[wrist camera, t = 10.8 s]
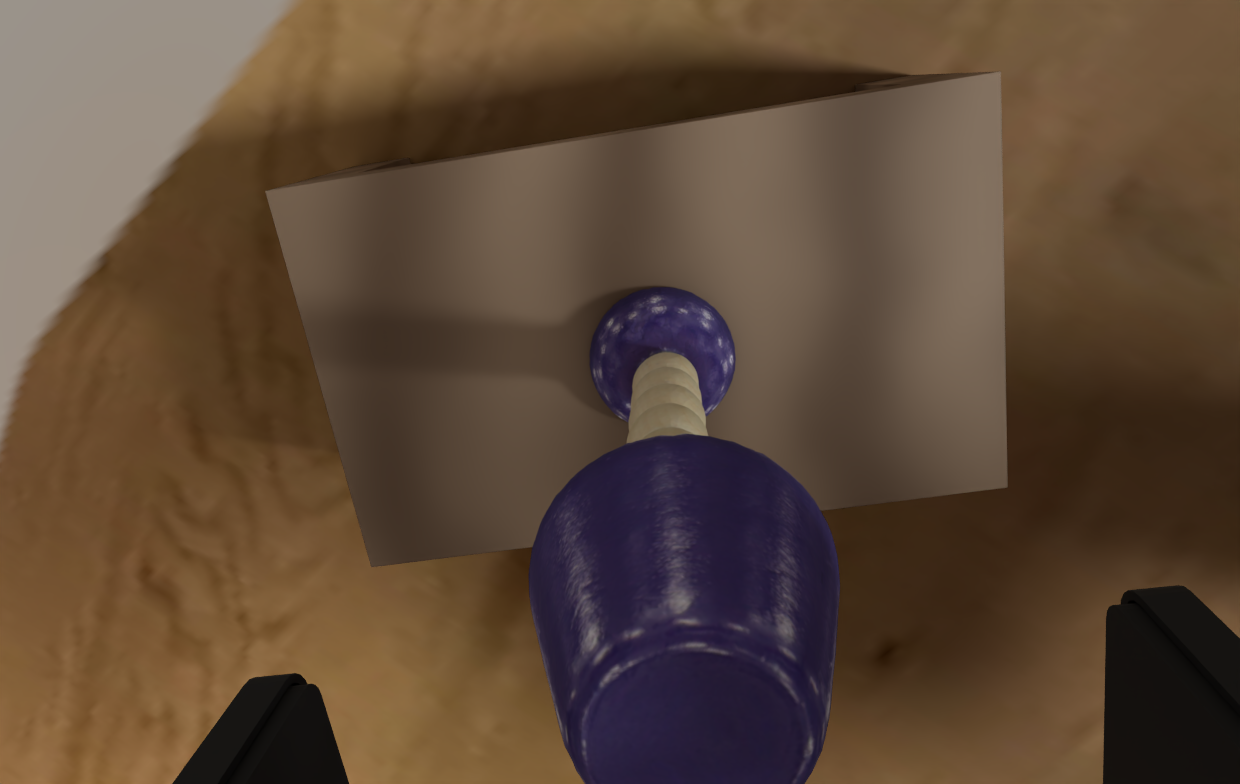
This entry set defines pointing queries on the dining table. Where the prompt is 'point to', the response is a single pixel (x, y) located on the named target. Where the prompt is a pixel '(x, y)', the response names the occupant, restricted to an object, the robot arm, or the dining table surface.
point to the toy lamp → (683, 576)
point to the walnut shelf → (663, 257)
